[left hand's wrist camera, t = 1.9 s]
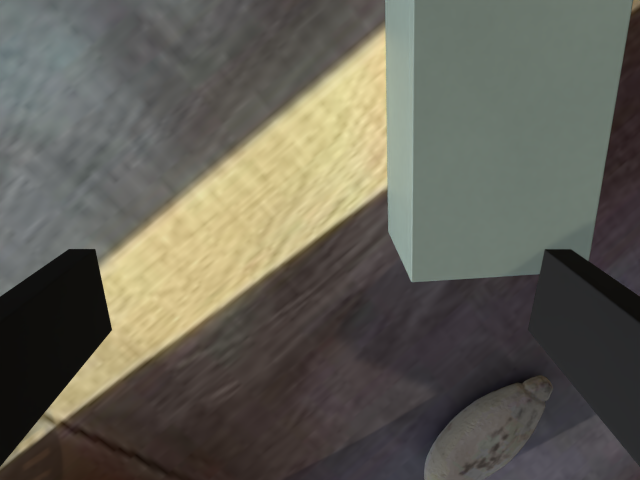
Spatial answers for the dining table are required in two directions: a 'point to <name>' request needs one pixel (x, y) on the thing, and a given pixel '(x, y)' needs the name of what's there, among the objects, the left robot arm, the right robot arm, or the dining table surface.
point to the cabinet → (498, 130)
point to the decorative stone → (488, 432)
